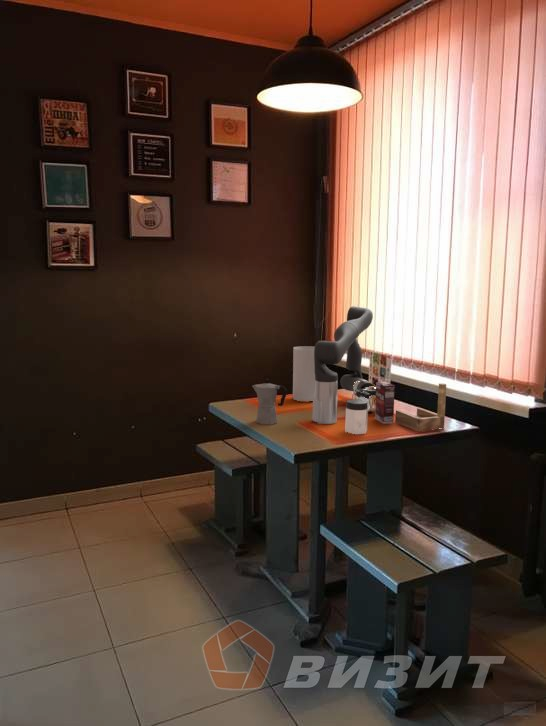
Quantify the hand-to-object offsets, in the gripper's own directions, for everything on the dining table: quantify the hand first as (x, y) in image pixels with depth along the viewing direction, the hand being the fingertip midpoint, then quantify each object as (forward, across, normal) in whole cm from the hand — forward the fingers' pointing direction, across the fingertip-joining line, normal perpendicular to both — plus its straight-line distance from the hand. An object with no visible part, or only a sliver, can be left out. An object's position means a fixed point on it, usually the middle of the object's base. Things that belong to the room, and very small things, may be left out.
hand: (378, 396), depth 255 cm
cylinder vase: (-38, -21, +9) cm, 44 cm away
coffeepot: (0, -47, +9) cm, 48 cm away
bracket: (+16, +11, +9) cm, 22 cm away
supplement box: (+7, 0, +9) cm, 12 cm away
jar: (+20, -17, +9) cm, 28 cm away
